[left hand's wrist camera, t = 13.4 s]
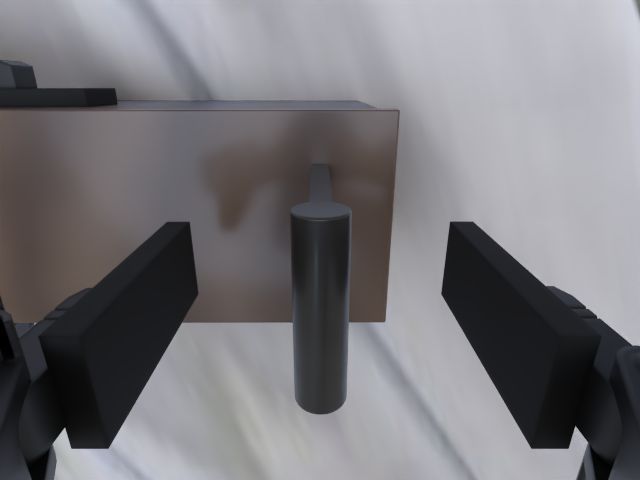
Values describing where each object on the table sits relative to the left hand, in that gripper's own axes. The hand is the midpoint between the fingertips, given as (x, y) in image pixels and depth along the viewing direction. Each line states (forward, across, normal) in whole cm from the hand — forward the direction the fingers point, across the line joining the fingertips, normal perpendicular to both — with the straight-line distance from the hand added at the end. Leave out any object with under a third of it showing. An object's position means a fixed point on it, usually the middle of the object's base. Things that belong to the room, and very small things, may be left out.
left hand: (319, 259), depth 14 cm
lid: (+4, +6, 0) cm, 7 cm away
